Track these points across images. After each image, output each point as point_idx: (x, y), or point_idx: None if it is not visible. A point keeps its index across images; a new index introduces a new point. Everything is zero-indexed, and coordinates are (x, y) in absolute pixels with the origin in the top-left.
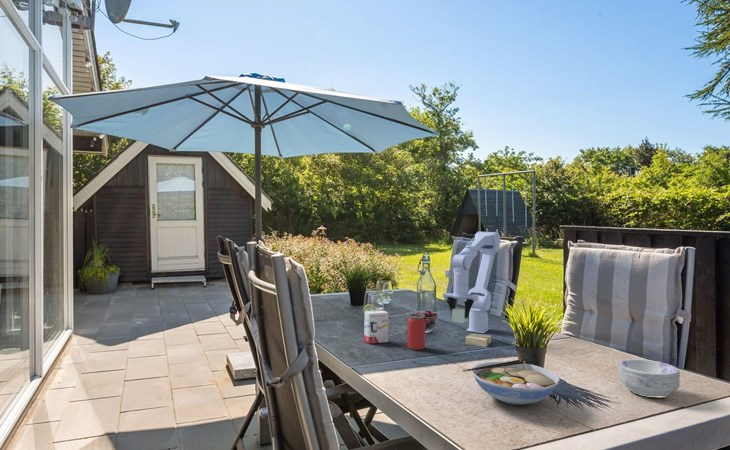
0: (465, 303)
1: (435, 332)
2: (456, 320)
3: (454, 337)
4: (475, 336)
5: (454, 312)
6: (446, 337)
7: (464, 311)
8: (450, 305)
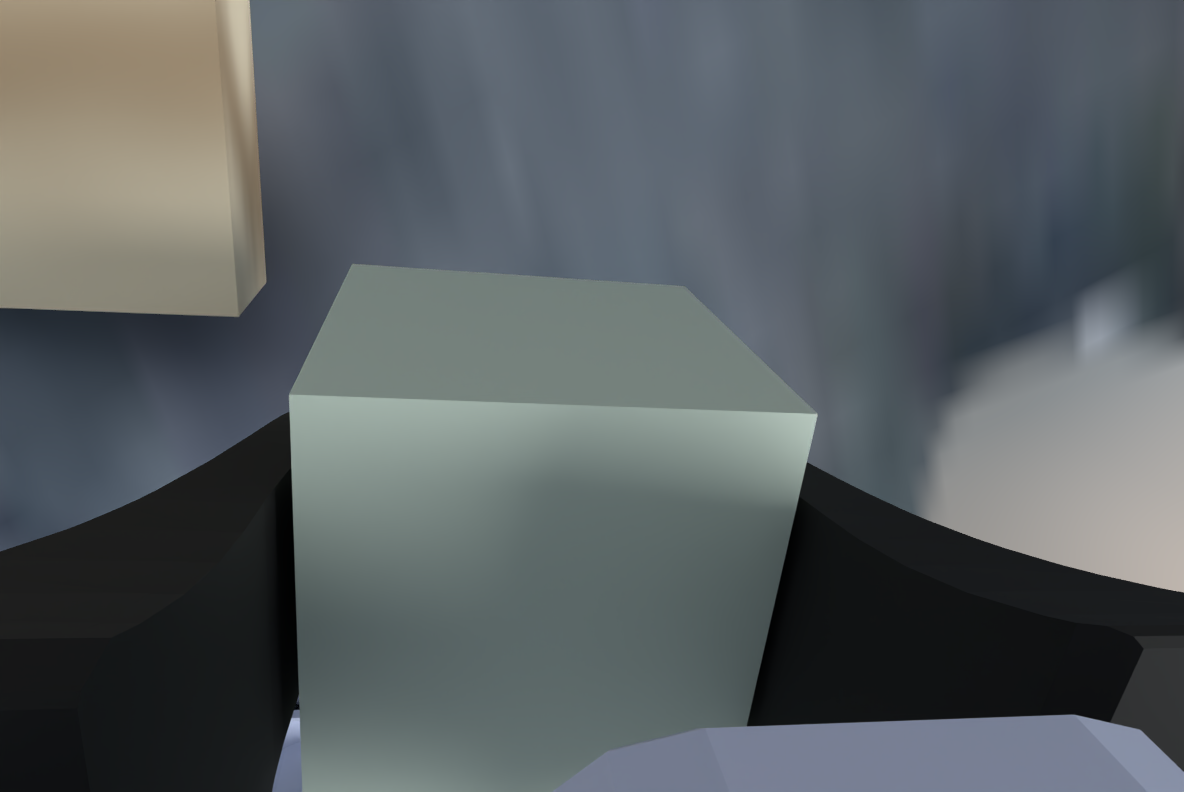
0: (83, 620)
1: (902, 428)
2: (568, 292)
3: (569, 272)
4: (24, 33)
5: (688, 366)
6: (693, 205)
7: (298, 439)
8: (969, 555)
